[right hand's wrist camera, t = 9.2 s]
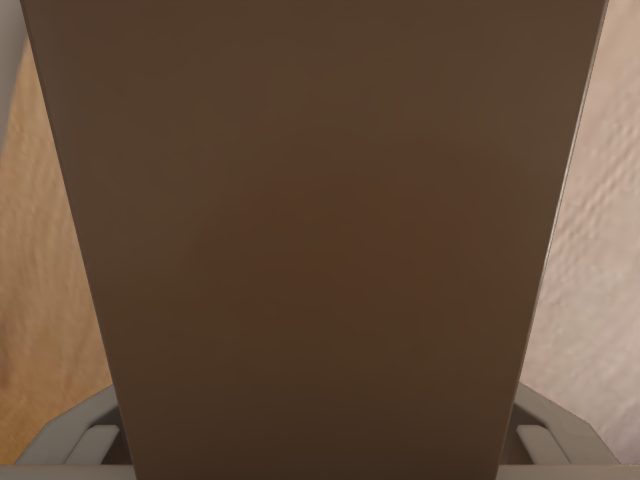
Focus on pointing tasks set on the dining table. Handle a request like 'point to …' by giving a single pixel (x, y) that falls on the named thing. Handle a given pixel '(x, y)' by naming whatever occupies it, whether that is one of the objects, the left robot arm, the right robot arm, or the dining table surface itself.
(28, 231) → the dining table surface
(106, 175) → the bar
